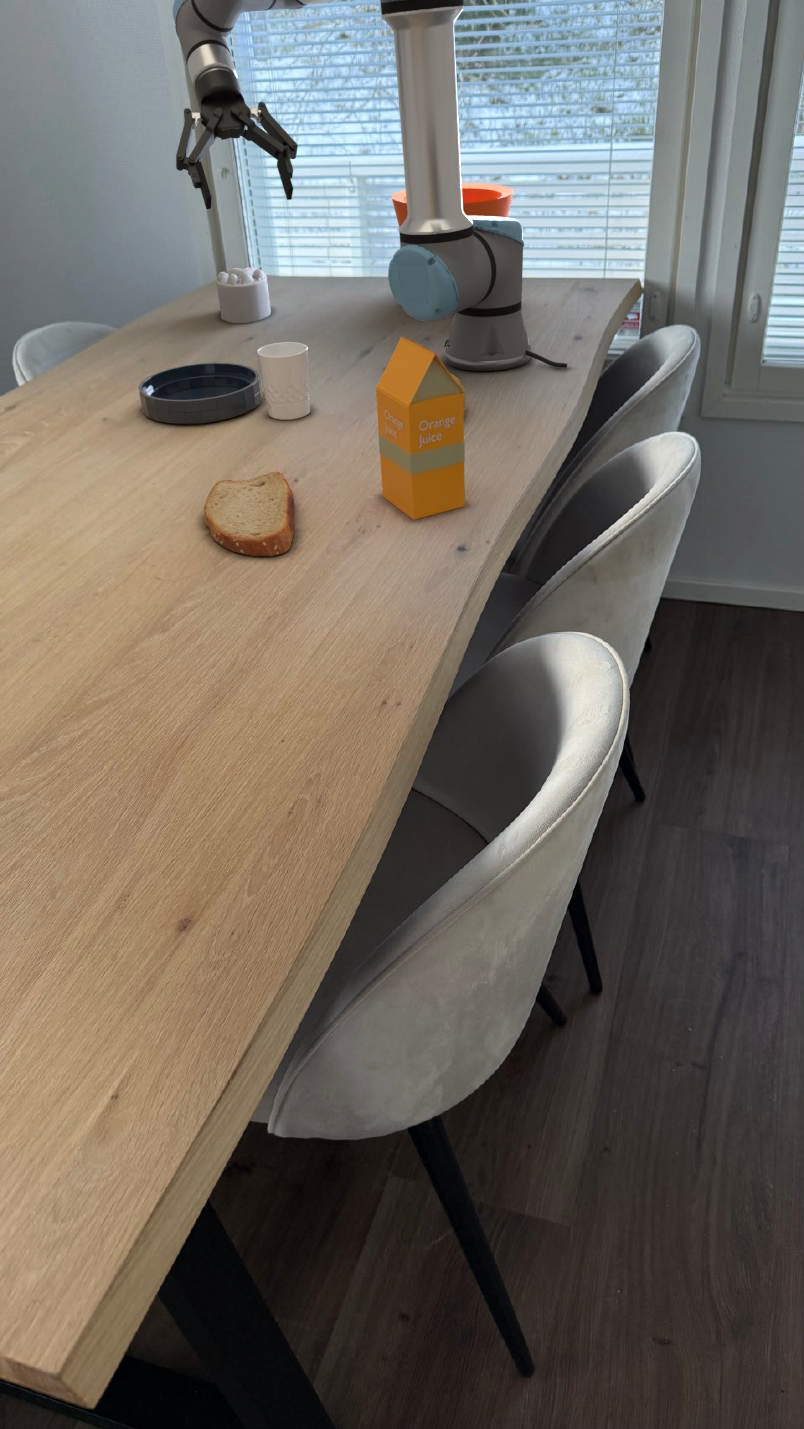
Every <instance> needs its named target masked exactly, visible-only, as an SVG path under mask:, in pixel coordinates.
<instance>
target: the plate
mask: <svg viewBox="0 0 804 1429" xmlns="http://www.w3.org/2000/svg"><path fill="white" fill-rule="evenodd" d="M262 388H263V387H262V379H261V374H260V372H258V370H257V369H255V368H253V367H252V366H248V365H245V364H240V363H233V362H200V363H199V362H198V363H192V364H185V365H184V364H183V365H179V366H176V367H175V366H174V367H170V368H167V369H165V370H161V371H158V372H156V373H154V374H152V375H149V376H147V377H146V378H144V379H142V381H141V382H140V383H139V385H138V388H137V389H138V393H139V398H140V402H141V408H142V412H143V414H144V415H145V416H146V417H148V418H149V419H151V420H153V421H156V422H162V423H168V424H176V425H177V424H178V425H198V424H200V425H201V424H208V423H214V422H220V421H226V420H229V419H232V418H236V417H238V416H240V415H243V414H246V413H248V412H250V411H251V410H253V409H255V408H257V407H258V406H259V405H260V404H261V402H262V400H263V398H264V397H263V389H262Z"/></svg>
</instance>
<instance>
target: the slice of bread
mask: <svg viewBox="0 0 804 1429" xmlns="http://www.w3.org/2000/svg"><path fill="white" fill-rule="evenodd" d="M203 512H204V514H203V515H204V524H205V526H206V527H207V528H208V530H209V534H210V536H211V537H212V538H213V540H214V541H215V542H217V543H218V544H219V545H221V546H222V547H223V548H224V549H227V550H229V551H232V552H234V553H237V554H240V555H247V556H252V557H253V556H254V557H273V556H278V555H282V554H285V553H287V552H288V551H289V550H290V549H291V547H292V542H293V538H294V536H295V500H294V492H293V490H292V488H291V487H290V485H289V482H288V480H287V479H286V477H285V476H284V474H282V473H281V472H280V471H278V470H275V471H272V472H271V471H270V472H269V473H266V474H261V475H259V476H255V477H254V478H250V479H245V480H232V479H223V480H222V479H221V480H219V481H217V482H216V483H215V484H214V485H213V487H211V490H210V491H209V493H208V495H207V496H206V499H205V503H204V506H203Z"/></svg>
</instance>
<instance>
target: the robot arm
mask: <svg viewBox="0 0 804 1429" xmlns="http://www.w3.org/2000/svg"><path fill="white" fill-rule="evenodd" d="M332 1H334V0H174V2H173V5H172V16H173V20H174V25H175V26H174V28H175V33H176V36H177V38H178V40H179V44H180V47H181V50H182V53H183V57H184V60H185V63H186V66H187V69H188V73H189V76H190V80H191V84H192V87H193V90H194V93H195V98H196V101H197V105H198V108H199V112H193V111H192V110H191V109H190V108H189V107H186V108H184V109H183V128H182V132H181V135H180V138H179V143H178V147H177V151H176V154H175V169H176V170H177V171H180V172H181V171H184V170H185V171H187V175H188V176H189V177H190V179H191V182H192V187H193V188H194V189H195V190H197V189H200V192H201V196H202V199H203V203H204V206H205V209H206V210H211V209H212V194H211V191H210V186H209V184H208V180H207V177H206V174H205V173H206V172H205V171H204V167H203V163H202V161H203V159H204V158H205V156H206V155H207V153H208V151H209V150H210V148H211V146H212V145H214V143H215V142H216V140H217V138H219V139H221V141H223V140H228V139H240V138H241V137H242V138H243V139H245V140H246V141H247V142H252V143H254V144H255V145H257V146H258V147H259V148H260V149H262V150H263V151H264V152H266V153H267V154H269V155H270V156H271V157H272V158H274V159H275V160H277V161H276V168H277V171H278V174H279V178H280V181H281V185H282V188H283V191H284V194H285V197H286V200H287V201H289V200H290V201H291V200H292V199H293V194H294V186H293V182H292V179H293V174H294V167H293V164H292V160H295V159H296V158H297V153H298V148H299V146H298V144H297V143H298V142H296V141H295V140H294V139H293V138H292V136H291V135H290V134H289V133H287V131H286V130H285V128H283V126H281V124H280V123H279V122H278V121H277V120H276V119H275V117H274V116H273V115H271V113H270V111H269V109H268V107H267V105H266V103H265V102H264V101H260V102H258V103H257V104H258V105H257V106H254V107H249V106H248V105H247V104H246V101H245V97H244V94H243V90H242V88H241V85H240V81H239V79H238V74H237V70H236V67H235V64H234V60H233V58H232V54H231V51H230V48H229V44H228V38H229V36H230V34H231V32H232V30H233V29H234V27H235V25H236V24H237V22H238V20H239V18H240V16H241V14H243V13H250V12H251V13H252V12H264V11H266V12H267V11H277V10H300V9H303V8H307V7H309V6H310V5H315V4H321V3H327V2H332ZM379 2H380V12H381V13H380V14H381V19H382V20H383V21H385V23H386V24H387V25H388V26H389V27H390V28H391V30H392V31H393V39H394V40H393V41H394V43H393V44H394V56H395V67H396V78H397V79H396V80H397V91H398V93H397V95H398V106H399V107H398V109H399V120H400V131H401V146H402V158H403V159H402V160H403V170H404V184H405V190H406V199H407V212H408V215H407V219H406V220H405V221H404V223H403V224H402V225H401V227H400V228H399V227H398V232H399V246H400V248H399V249H398V250H396V251H395V253H394V254H393V256H392V259H391V260H390V261H389V264H388V269H387V270H388V271H387V278H388V279H387V280H388V284H389V289H390V291H391V295H392V296H393V298H394V300H395V302H396V303H397V305H398V306H399V307H401V308H402V309H403V311H404V312H405V314H407V316H409V317H411V318H413V319H415V320H417V321H422V322H432V321H433V322H434V321H436V320H442V319H446V318H449V317H450V316H452V315H453V314H454V315H453V319H452V323H451V326H450V330H449V333H448V338H447V339H446V340H445V341H444V346H443V347H444V361H445V362H446V364H448V365H449V366H451V367H454V368H455V369H458V370H459V369H460V370H464V371H465V370H466V371H473V372H493V371H494V372H495V371H496V372H497V371H503V370H511V369H515V368H517V367H521V366H523V365H525V364H527V363H528V362H529V361H530V360H531V358H532V359H535V360H538V361H540V362H542V363H544V364H545V365H549V366H550V367H554V368H562V369H567V368H568V363H566V362H556V361H553V360H550V359H548V358H547V357H544V356H542V355H540V354H537V353H535V352H532V346H531V345H532V344H531V342H530V340H529V337H528V333H527V328H526V324H525V321H524V317H523V313H522V311H523V310H522V304H523V300H522V299H523V268H524V264H523V263H524V247H525V242H524V230H523V229H524V228H523V225H522V223H521V221H520V220H518V219H516V218H512V217H508V218H506V217H494V216H467V215H466V214H465V213H464V212H463V206H462V186H461V183H462V166H461V147H460V146H461V145H460V126H459V106H458V105H459V104H458V86H457V85H458V84H457V68H456V67H457V66H456V64H457V63H456V42H455V23H456V21H457V19H458V17H459V16H460V15H461V13H462V12H463V11H464V7H465V6H464V5H465V4H464V0H380V1H379ZM253 119H254V120H253ZM255 121H256V122H255ZM199 123H200V124H201V125H202V126H203V127H204V128H205V129H204V130H203V133H202V135H201V136H200V138H199V139H198V141H197V143H196V144H195V146H194V147H193V150H191V152H190V154H189V156H188V153H189V150H190V145H191V142H192V137H193V130H195V129H196V128H197V127H198V124H199ZM256 123H257V124H260V125H261V127H262V128H261V127H259V125H257V124H256Z"/></svg>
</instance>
